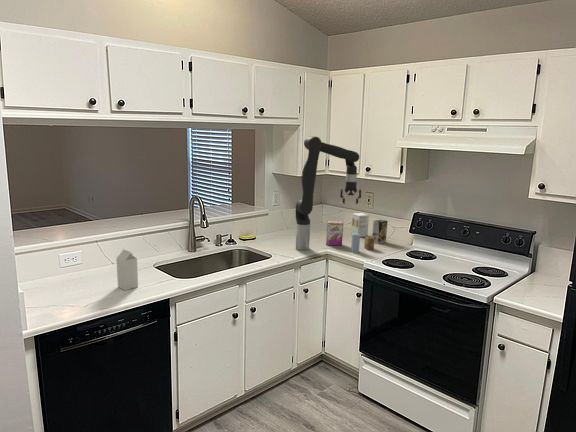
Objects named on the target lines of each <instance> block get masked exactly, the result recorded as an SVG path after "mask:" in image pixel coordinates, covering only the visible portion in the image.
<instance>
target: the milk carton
mask: <svg viewBox="0 0 576 432" xmlns="http://www.w3.org/2000/svg"><path fill="white" fill-rule="evenodd" d="M116 272H117V273H116V276H117V280H116V281H117V288H120V289H122V291H127V290H131V289H134V288H138V287H139V278H138V258H137V257H136V256H134V253H133V252H132V251H130V250H127V249H125V248H122V251H121V252H120V253H119V254H118V256H117V257H116Z"/></svg>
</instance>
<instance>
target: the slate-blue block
mask: <svg viewBox="0 0 576 432" xmlns="http://www.w3.org/2000/svg"><path fill="white" fill-rule="evenodd" d="M360 240H361V237H360V235H359V234H355V233H352V234H351V248H350V249H351V250H350V251H351V253H352V252H353V254H355V253H356V254H357V253H358V254H360V242H361V241H360Z"/></svg>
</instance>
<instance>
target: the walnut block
mask: <svg viewBox="0 0 576 432" xmlns="http://www.w3.org/2000/svg"><path fill="white" fill-rule="evenodd" d="M374 240H375V238H373V237H372V236H365V237H364V249H365V250H367V251H373V250H375V243H374Z"/></svg>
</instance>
